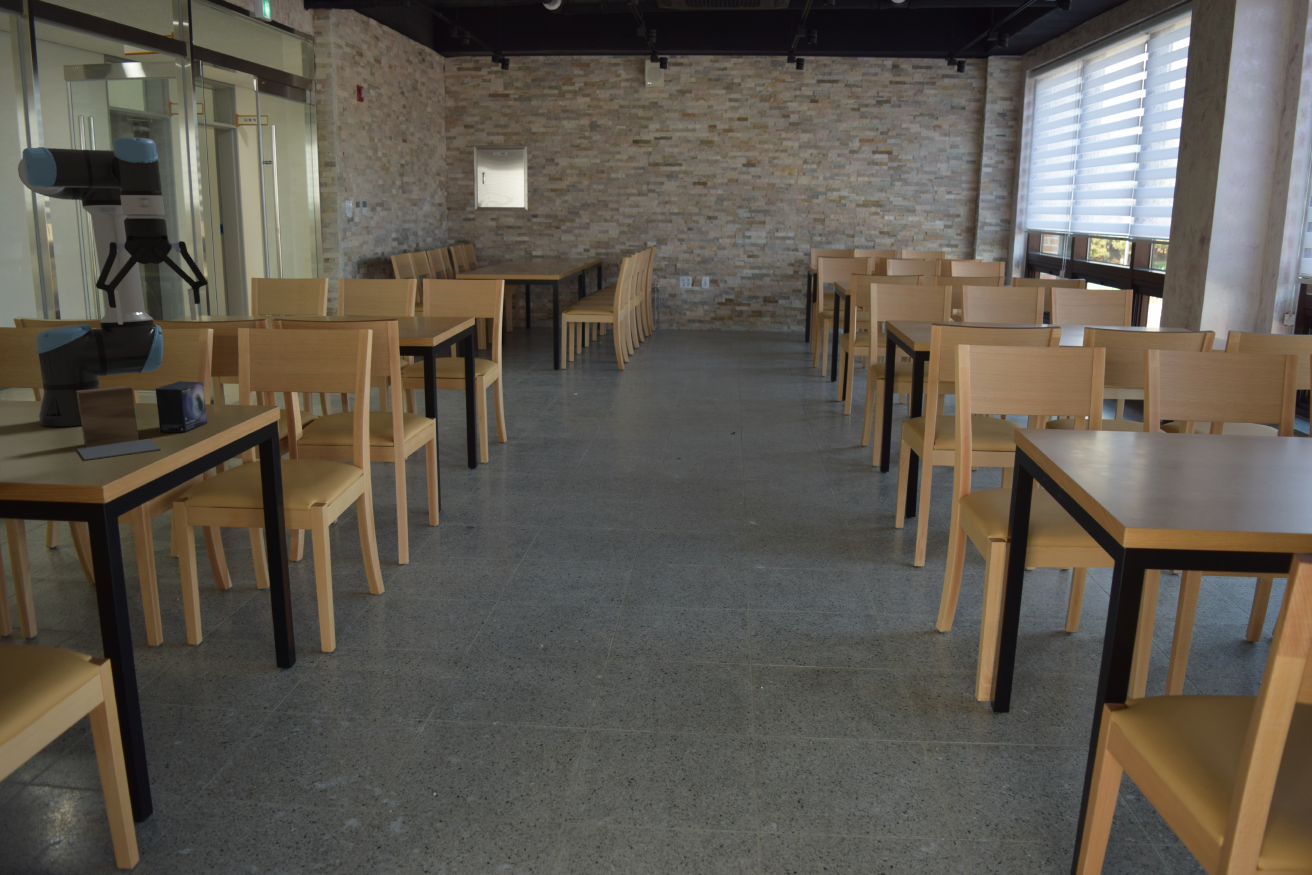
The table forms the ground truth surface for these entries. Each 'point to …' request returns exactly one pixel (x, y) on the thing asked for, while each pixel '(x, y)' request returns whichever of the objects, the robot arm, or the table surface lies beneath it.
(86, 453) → the mat
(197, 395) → the small box
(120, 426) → the brown rectangular box
